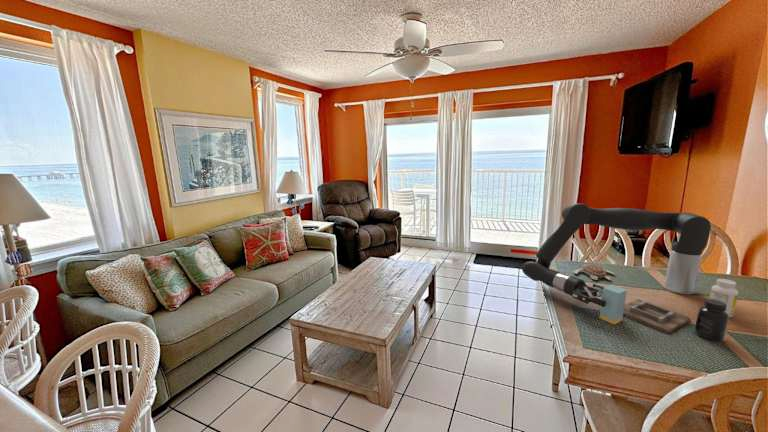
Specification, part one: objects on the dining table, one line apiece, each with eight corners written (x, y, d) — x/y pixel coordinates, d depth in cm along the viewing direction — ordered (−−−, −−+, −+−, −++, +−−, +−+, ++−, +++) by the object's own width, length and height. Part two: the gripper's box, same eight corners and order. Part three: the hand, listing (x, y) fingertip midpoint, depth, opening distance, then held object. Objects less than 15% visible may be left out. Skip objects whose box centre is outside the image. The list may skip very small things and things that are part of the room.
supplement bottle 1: (725, 310, 115) (732, 278, 113) (738, 319, 109) (746, 285, 106) (702, 307, 117) (709, 276, 115) (713, 316, 111) (721, 283, 109)
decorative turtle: (603, 268, 157) (604, 259, 156) (624, 282, 141) (625, 272, 140) (565, 268, 159) (566, 259, 158) (582, 282, 143) (583, 272, 142)
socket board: (637, 301, 123) (638, 295, 123) (690, 320, 109) (691, 314, 108) (614, 311, 116) (615, 305, 116) (667, 333, 102) (668, 326, 102)
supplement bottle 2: (730, 343, 97) (738, 308, 94) (704, 341, 98) (711, 307, 95) (712, 330, 103) (719, 298, 101) (688, 328, 105) (694, 296, 102)
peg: (607, 314, 115) (611, 284, 112) (622, 320, 110) (626, 290, 108) (599, 317, 113) (603, 287, 110) (614, 324, 108) (618, 293, 106)
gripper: (557, 279, 121) (601, 296, 107) (580, 272, 127) (624, 287, 113) (556, 297, 122) (599, 316, 108) (578, 289, 128) (622, 306, 114)
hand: (612, 301), depth 110 cm, fingers open, 8 cm apart
